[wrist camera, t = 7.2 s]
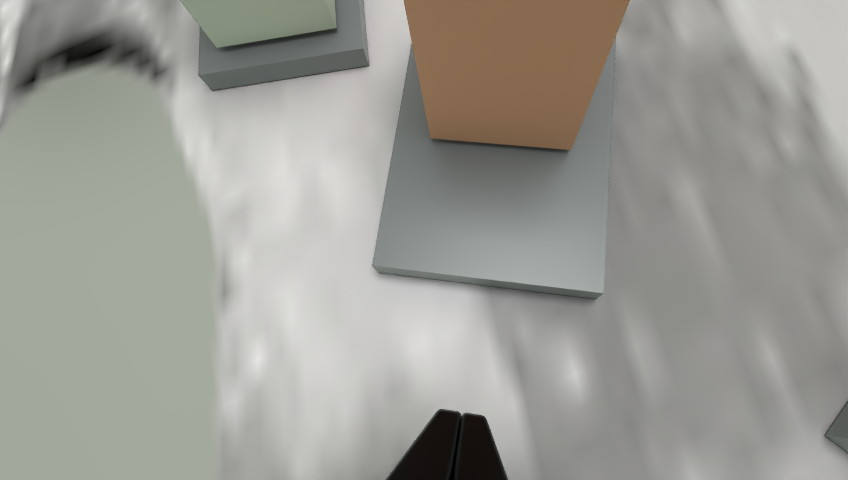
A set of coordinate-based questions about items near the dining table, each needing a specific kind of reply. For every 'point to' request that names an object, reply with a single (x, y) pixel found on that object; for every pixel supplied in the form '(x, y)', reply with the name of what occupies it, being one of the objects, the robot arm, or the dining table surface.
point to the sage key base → (288, 53)
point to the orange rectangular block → (510, 66)
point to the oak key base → (840, 430)
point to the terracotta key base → (498, 204)
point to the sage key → (260, 18)
